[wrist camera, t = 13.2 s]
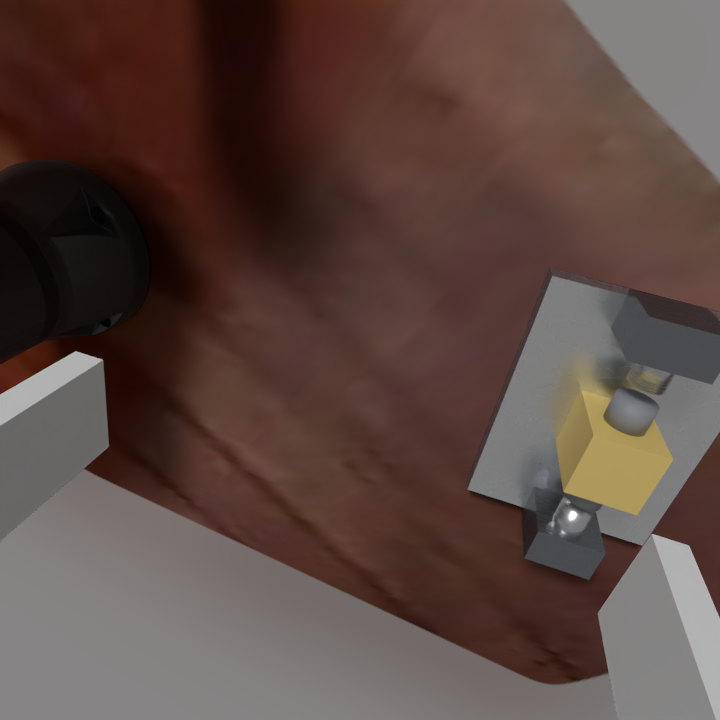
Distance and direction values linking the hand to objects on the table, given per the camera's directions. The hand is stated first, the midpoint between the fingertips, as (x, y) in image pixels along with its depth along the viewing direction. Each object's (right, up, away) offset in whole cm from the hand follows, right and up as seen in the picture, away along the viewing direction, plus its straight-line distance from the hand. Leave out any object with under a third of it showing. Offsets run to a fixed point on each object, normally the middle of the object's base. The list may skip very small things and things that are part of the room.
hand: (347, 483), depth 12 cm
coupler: (+19, -2, +27) cm, 33 cm away
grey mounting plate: (+19, -1, +28) cm, 34 cm away
